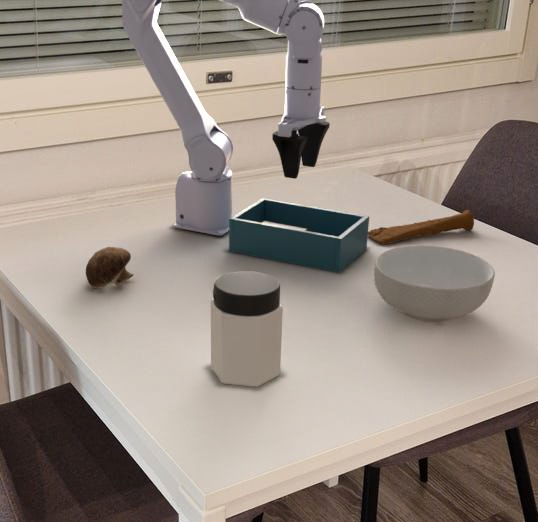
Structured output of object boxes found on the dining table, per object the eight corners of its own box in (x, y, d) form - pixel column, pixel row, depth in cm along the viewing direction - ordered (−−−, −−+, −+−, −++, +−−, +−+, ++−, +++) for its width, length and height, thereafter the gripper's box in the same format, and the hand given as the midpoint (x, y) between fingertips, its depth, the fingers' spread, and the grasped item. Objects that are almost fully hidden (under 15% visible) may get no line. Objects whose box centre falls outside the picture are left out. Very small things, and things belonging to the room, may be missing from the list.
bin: (228, 251, 159) (228, 218, 156) (261, 229, 168) (262, 197, 165) (338, 272, 152) (341, 239, 149) (366, 248, 162) (369, 216, 159)
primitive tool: (380, 244, 163) (382, 224, 161) (365, 234, 167) (366, 214, 165) (476, 233, 169) (479, 213, 167) (459, 223, 173) (462, 204, 172)
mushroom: (152, 261, 145) (125, 229, 142) (128, 297, 141) (99, 265, 138) (120, 273, 151) (93, 243, 148) (96, 308, 147) (68, 278, 144)
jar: (243, 350, 128) (245, 264, 121) (291, 370, 123) (296, 281, 117) (197, 373, 122) (196, 284, 115) (246, 394, 118) (248, 303, 111)
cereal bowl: (414, 344, 131) (420, 295, 127) (349, 300, 143) (352, 254, 139) (511, 322, 137) (520, 275, 133) (441, 282, 150) (447, 238, 146)
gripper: (308, 97, 148) (304, 186, 155) (342, 80, 159) (338, 164, 166) (266, 92, 150) (265, 180, 158) (303, 76, 161) (300, 158, 169)
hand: (300, 171), depth 162 cm, fingers open, 7 cm apart
